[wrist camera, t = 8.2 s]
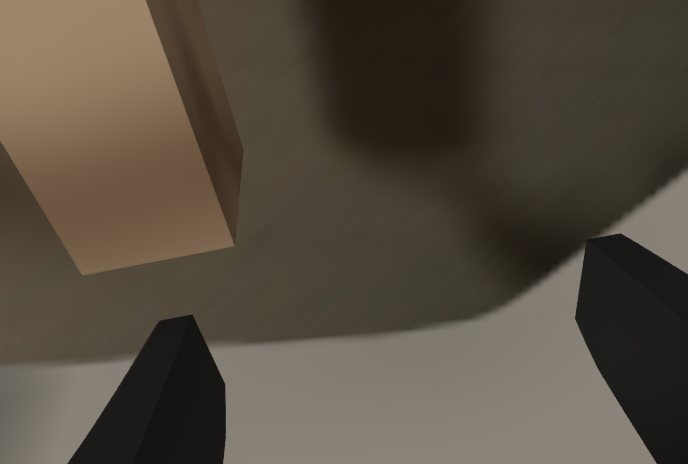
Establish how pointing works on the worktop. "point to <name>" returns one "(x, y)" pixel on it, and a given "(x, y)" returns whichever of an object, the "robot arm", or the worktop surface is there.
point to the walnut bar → (120, 127)
